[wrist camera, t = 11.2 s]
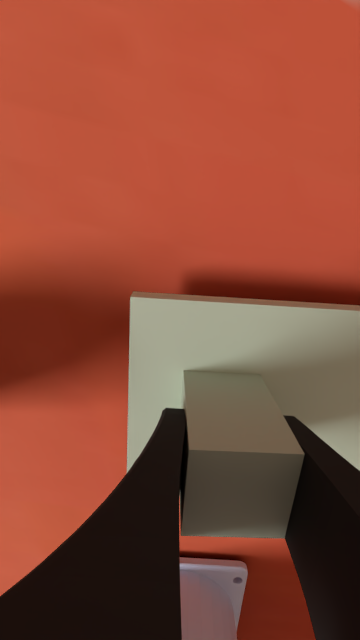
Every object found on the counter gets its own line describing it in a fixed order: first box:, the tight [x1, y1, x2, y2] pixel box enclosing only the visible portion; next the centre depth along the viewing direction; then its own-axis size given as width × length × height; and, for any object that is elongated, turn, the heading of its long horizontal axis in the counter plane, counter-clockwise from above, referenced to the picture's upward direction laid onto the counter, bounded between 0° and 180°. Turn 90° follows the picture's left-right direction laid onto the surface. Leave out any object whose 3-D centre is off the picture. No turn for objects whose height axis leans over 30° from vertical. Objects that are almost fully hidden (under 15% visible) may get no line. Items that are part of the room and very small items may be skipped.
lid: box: [127, 291, 360, 538], centre depth 10 cm, size 8×11×5 cm
